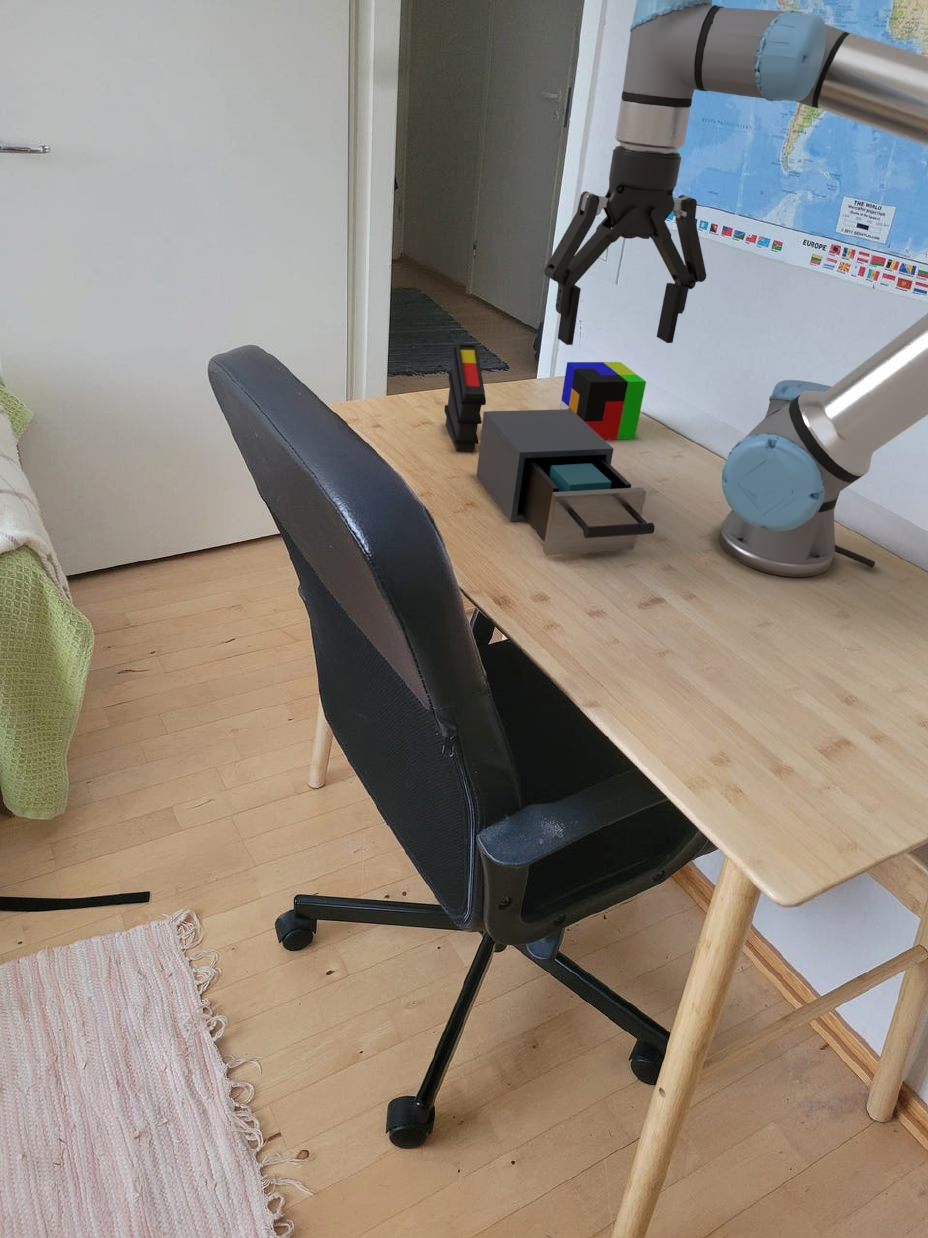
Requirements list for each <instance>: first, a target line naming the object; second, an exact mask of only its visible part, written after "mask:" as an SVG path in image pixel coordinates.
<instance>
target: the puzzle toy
mask: <svg viewBox="0 0 928 1238" xmlns="http://www.w3.org/2000/svg"><path fill="white" fill-rule="evenodd" d="M646 384H647V380H645V379H644V378H642V377H641V376H640V375H638V374H637V373H636V372H635V371H633V370H631V369H630V368H629V367H627V366H626V365H625V364H624V363H623V362H621V361H567V362H566V367H565V374H564V381H563V387H562V394H561V399H560V406H559V410H561V409H571V410H572V411H573V412H574V413H575V414H577V415H578V416H579V417H580V418H581V419H582V420H583V421H584V422H585V423H586V424H587V425H589V426H590V427H591V428H592V429H593V430H594V431H595V432H596V433H597V434H598V435H599V436H600V437H602V438H603V439H604V440H605V441H606V440H607V441H608V440H635V438H636V433H637V429H638V424H639V420H640V415H641V410H642V404H643V400H644V395H645V390H646V386H647V385H646Z"/></svg>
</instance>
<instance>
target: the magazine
mask: <svg viewBox="0 0 928 1238" xmlns="http://www.w3.org/2000/svg"><path fill="white" fill-rule="evenodd" d="M452 348H453V349H452V353H453V363H452V372H449V373H448V377H447V378H448V383H449V391H448V399H447V404H445V405H444V411H443V412H444V414H445V417H446V418H445V427H446V430H447V433H448V435H449V438H450V439H451V442H452V444H453V447H454V449H455V451H456V452H466V453H467V452H468V453H473V452H475V451H476V445H479V443H480V442H479V441H480V440H479V437H478V426H479V425H482V422H483V420H482V417H481V409H482V406H486V404H487V399H486V391H485V386H484V380H483V374H482V367H481V362H480V355H479V350H478V345H477V344H476V343H467V342H458V343H457V345H456V346H454V347H452Z"/></svg>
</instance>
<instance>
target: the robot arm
mask: <svg viewBox="0 0 928 1238" xmlns="http://www.w3.org/2000/svg"><path fill="white" fill-rule="evenodd" d="M631 22H632V23H631V25H630V27H629V33H630V34H629V42H628V48H627V56H626V63H625V70H624V71H625V72H624V79H623V85H622V86H623V87H622V92H621V96H620V97H621V98H620V103H619V110H618V118H617V125H616V131H615V140H616V141H617V142H618V143H619V145H617V146H615V148H614V149H613V150H612V156H611V163H610V169H609V175H608V189H607V192H606V193H605V195H598V194H595V193H593V192H590V191H587V190H585V191H583V192H582V193H581V194H580V197H579V201H578V205H577V209H576V212H575V214H574V216H573V218H572V220H571V222H570V223H569V225H568V227H567V228H566V230H565V233H563V236H562V238H561V240H560V241H559V243H558V245H557V246H556V248H555V250H554V252H553V254H552V255H551V257H550V259H549V260H548V263H547V264H546V266H545V268H544V270H543V273H544V276H546V277H547V278H549V279H551V280H552V281H554V282H557V293H556V299H555V311H556V312H557V313H558V314H559V315H560V316H559V317H560V319H559V323H558V324H559V325H558V331H557V339H558V340H559V341H560V342H562V343H564V345H566V346H573V345H574V339H575V338H574V337H575V332H576V324H577V318H578V311H579V303H580V298H581V297H580V296H581V290H582V288H581V287H580V286H578V285H576V284H577V283H578V282H579V281H580V280H581V279H582V277H583V276H584V275H585V274H586V273H587V271H589V269H590V268H591V267H592V266H593V264H595V263H596V261H598V259H599V258H600V257H601V256H602V255H603V253H604V252H605V251H606V250H607V249H608V248H609V247H610V246H611V244H613V243H616V242H617V241H618V240H619V239H620V237H621V238H623V239H625V240H626V239H628V240H629V239H630V240H631V239H635V238H640V239H643V240H650V239H651V240H652V242H653V244H654V246H655V247H656V249H657V251H658V253H659V255H660V257H661V259H662V261H663V263H664V265H665V267H666V268H667V270H668V272H669V275H670V276H671V278H672V280H673V282H674V283H673V282H666V285H665V290H664V295H663V301H662V306H661V310H660V317H659V320H658V321H659V322H658V327H657V332H656V338H657V339H659V340H661V341H663V342H664V343H666V344H673V343H674V337H675V332H676V328H677V323H678V318H679V314H680V315H681V314H683V313H684V311H685V308H686V304H687V298H688V294H689V290H692V289H694V288H695V287H696V284H697V283H703V282H704V281H706V279H707V271H706V266H705V260H704V257H703V251H702V245H701V242H700V241H701V240H700V236H699V231H698V227H697V221H696V216H697V205H698V200H697V199H696V198H693V197H690V196H687V195H685V194H681V195H679V196H678V197H676V198H675V197H674V190H675V188H676V186H677V185H678V178H679V173H680V167H681V162H682V161H681V160H682V156H681V154H680V153H679V152H678V149H681V148H683V147H684V146H685V143H686V136H687V130H688V124H689V119H690V118H689V117H690V112H691V107H692V103H693V96H694V93H695V91H697V90H698V91H700V92H715V93H720V94H727V95H733V96H739V97H748V98H757V99H764V100H766V101H769V102H782V101H784V102H785V101H787V102H788V101H789V102H796V103H799V104H801V105H804V106H808V107H810V108H816V109H818V110H821V111H824V112H826V113H830V114H832V115H836V116H838V117H840V118H843V119H847V120H849V121H852V122H855V123H858V124H861V125H863V126H867V127H870V128H873V129H875V130H878V131H881V132H884V133H887V134H891V135H893V136H895V137H899V138H902V139H904V140H906V141H910V142H912V143H915V144H919V145H921V146H923V147H924V146H925V147H927V148H928V56H926V55H923V54H920V53H917V52H914V51H910V50H907V49H904V48H901V47H898V46H895V45H892V44H888V43H885V42H882V41H879V40H875V39H873V38H869V37H866V36H863V35H860V34H856V33H853V32H851V33H850V32H848V31H846V30H843V29H841V28H837V27H834V26H831V25H828V24H826V22H825V21H824V19H823V17H821V16H819V15H816V14H809V13H803V12H801V11H796V10H773V9H759V8H758V9H757V8H740V7H739V8H738V7H725V6H720V5H719V6H718V4H717V5H716V4H713V0H636V3H635V9H634V12H633V18H632V21H631ZM602 210H603V211H604V213H605V215H606V216H605V217H604V218H603V220H601V222H600V223H599V224H598V226H596V228H595V232H594V233H593V234H592V235H591V236H590V237H589V238H588V240H587V241H586V242H585V243H584V244H583V241H584V240H585V238H586V237H587V234H588V233H589V231H590V229H591V228H592V226H593V224H594V222H595V219H596V217H597V216H598V215H600V214H601V212H602ZM671 214H672V215H673V216H674V217H675V223H676V224H675V225H676V229H677V233H678V238H679V242H680V247H681V252H682V256H683V258H682V256H681V254H680V253H679V251H678V249H677V247H676V245H675V242H674V240H673V238H672V233H671V230H670V229H669V226H668V225H667V223H666V221H667V219H668V218H669V217H670V215H671ZM582 244H583V246H582V247H581V245H582ZM580 247H581V248H580ZM768 401H769V404H768V407H767V411H766V414H765V416H764V418H763V419H762V420H761V421H760V422H759V423H758V424H757V425H756V426H755V427H754V428H753V429H752V430H751V431H750V432H749V433H748V434H747V435H746V436H745V437H744V438H743V439H741V440H739V441H738V442H737V443H736V444H735V445H734V446H733V447H732V449H731V451H730V452H729V454H728V457H727V459H726V460H725V462H724V465H723V468H722V473H721V486H722V492H723V495H724V498H725V500H726V502H727V504H728V505H729V507H730V509H731V510H730V511H729V512H728V514H727V515H726V517H725V518H724V520H723V521H722V522H721V526H720V529H719V534H718V544H719V545H720V547H721V549H722V550H723V551H724V552H725V553H726V554H728V555H729V556H730V557H731V558H733V559H734V560H736V561H738V562H739V563H741V564H743V565H745V566H747V567H749V568H752V569H755V570H758V571H761V572H764V573H767V574H771V575H775V576H780V577H781V576H783V577H791V578H807V577H813V576H817V575H820V574H823V573H825V572H827V571H828V570H829V569H830V568H831V564H832V562H833V559H834V556H835V553H836V554H838V555H841V556H844V557H846V558H848V559H851V560H853V561H856V562H858V563H861V564H863V565H865V566H868V567H870V568H874V566H875V565H876V561H875V560H873V559H870V558H868V557H865V556H863V555H861V554H859V553H856V552H854V551H851V550H848V549H847V548H844V547H841V546H839V545H837V544H836V543H835V541H836V540H835V539H836V538H835V509H836V505H837V502H838V499H839V495H840V493H841V492H842V491H843V490H845V489H846V488H847V487H849V486H850V485H852V484H854V482H855V483H856V482H857V480H859V479H861V478H862V477H863V476H865V475H866V474H868V473H869V472H870V469H871V462H872V456H873V454H874V452H876V451H877V450H879V449H881V448H882V447H883V446H885V445H886V444H888V443H889V442H891V441H892V440H894V439H895V438H896V437H898V436H899V435H900V434H902V433H904V432H906V430H908V429H910V428H911V427H912V426H914V425H915V424H916V423H918V422H919V421H921V420H923V419H924V418H925V417H927V416H928V312H927V313H926V314H924V315H923V316H922V317H921V318H920V319H918V320H917V321H916V322H914V323H913V324H912V325H910V326H909V327H907V328H906V329H905V330H904V331H902V332H901V333H900V334H898V335H897V336H896V337H894V338H893V339H892V340H891V341H890V342H888V343H887V344H886V345H884V346H883V347H882V348H880V349H879V350H878V351H876V352H875V353H874V354H873V355H871V356H869V358H867V359H866V360H865V361H863V362H862V363H861V364H860V365H858V366H857V367H856V368H855V369H853V370H852V371H851V372H849V373H848V374H847V375H845V376H844V377H842V378H841V379H840V380H838V382H836V383H835V384H833V385H832V386H831V385H827V384H822V383H819V382H813V381H807V380H806V381H805V380H799V379H785V380H781V381H779V382H777V383H776V385H774V388H773V390H772V393H771V395H770V396H769V398H768Z"/></svg>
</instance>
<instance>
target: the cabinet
mask: <svg viewBox="0 0 928 1238" xmlns="http://www.w3.org/2000/svg"><path fill="white" fill-rule="evenodd" d="M482 413H483V414H482V422H481V433H480V440H479V441H480V442H479V450H478V458H477V467H476V478H477V480H478V481H479V483H481V486H483V488H484V489H485V491H486V492H487V493H488V495H489V496H490V497H491V498H492V499H493V501H494V502H495V504H496V505H497V506H498V507H499V509H500V510H501V512H502V513H503V514H504V516H505V517H506V518H507V520H508V521H509V522H510V523H515V522H516V523H517V522H528V521H527V520H526V518H525V517H524V516H523V515H522V513H521V512H520V511H519V510H518V505H519V498H520V491H521V484H522V476H523V469H524V462H525V458H541V457H565V456H590V455H601V456H602V457H603V458H604V459H605V460H606V461H607V462H608V463H609V464H610V465H611V466H612V460H613V454H614V447H612V446H611V444H610V443H608V442H607V441H606V440H604V439H603V438H602V437H600V436H599V435H598V434H597V433H596V432H595V431H594V430H593V429H592V428H591V427H590V426H589V425H587V424H586V423H585V422H584V421H583V420H582V419H581V418H580V417H579V416H578V415H577V414H575V413H574V412H573V411H572V410H571V409H561V410H560V409H529V410H528V409H526V410H520V409H519V410H488V411H487V410H484V411H483V412H482Z"/></svg>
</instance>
